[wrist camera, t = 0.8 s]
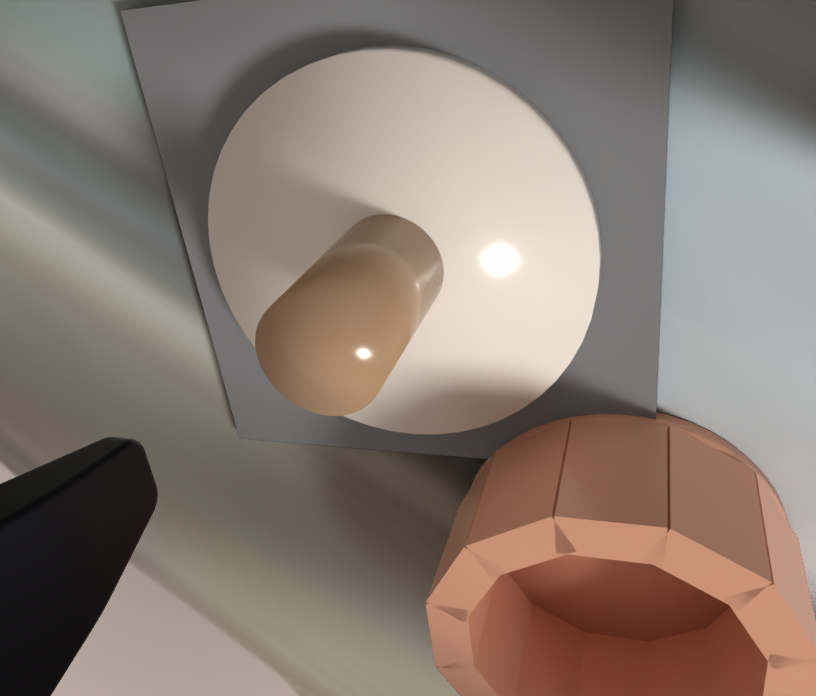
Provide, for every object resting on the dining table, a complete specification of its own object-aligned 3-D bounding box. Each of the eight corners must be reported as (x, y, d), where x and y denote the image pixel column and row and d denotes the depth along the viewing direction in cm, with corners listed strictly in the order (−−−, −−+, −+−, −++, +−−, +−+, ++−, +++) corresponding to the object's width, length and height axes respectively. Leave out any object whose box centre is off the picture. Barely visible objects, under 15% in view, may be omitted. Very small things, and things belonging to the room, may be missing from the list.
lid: (602, 427, 22) (582, 577, 17) (268, 405, 25) (170, 525, 20) (601, 23, 17) (573, 68, 12) (183, 64, 20) (24, 113, 15)
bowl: (771, 665, 25) (793, 814, 21) (479, 621, 28) (447, 743, 24) (811, 417, 20) (848, 546, 16) (455, 397, 23) (409, 501, 19)
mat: (654, 464, 22) (653, 472, 22) (245, 432, 27) (239, 438, 26) (675, -62, 16) (675, -62, 16) (129, 9, 20) (120, 10, 20)
